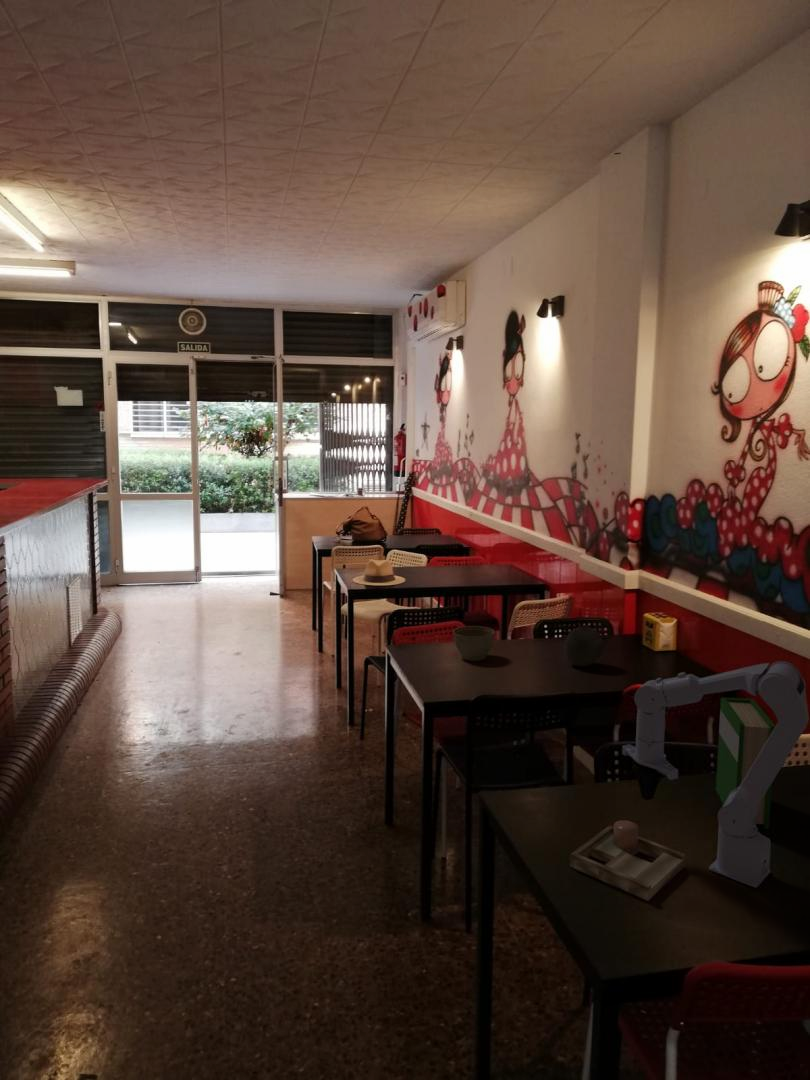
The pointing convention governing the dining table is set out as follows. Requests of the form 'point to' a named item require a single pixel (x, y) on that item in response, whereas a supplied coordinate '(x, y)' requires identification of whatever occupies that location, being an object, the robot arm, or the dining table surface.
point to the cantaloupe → (583, 646)
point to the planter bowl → (473, 641)
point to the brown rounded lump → (626, 835)
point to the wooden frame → (628, 864)
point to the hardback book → (741, 748)
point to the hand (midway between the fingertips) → (647, 798)
